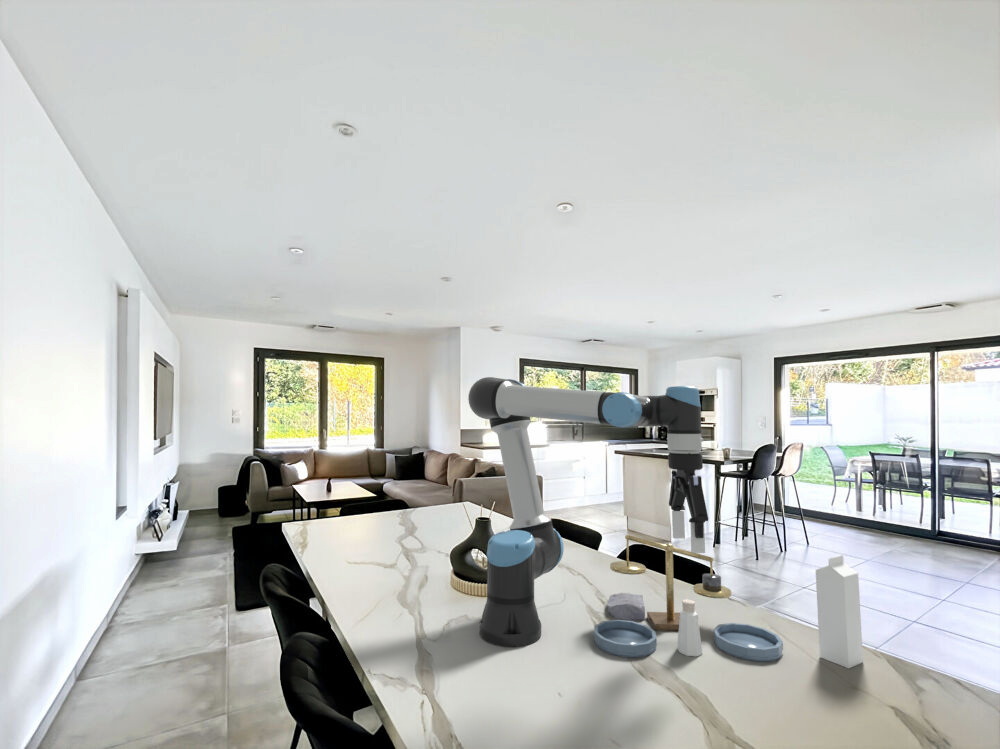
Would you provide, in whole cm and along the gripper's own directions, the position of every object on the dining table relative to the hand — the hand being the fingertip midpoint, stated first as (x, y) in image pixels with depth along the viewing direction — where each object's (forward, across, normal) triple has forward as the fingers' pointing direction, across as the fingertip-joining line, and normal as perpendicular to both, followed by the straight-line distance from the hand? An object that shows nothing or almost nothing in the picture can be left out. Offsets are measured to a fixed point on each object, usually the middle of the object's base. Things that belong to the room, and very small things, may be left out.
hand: (688, 545), depth 116 cm
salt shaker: (+24, 0, 0) cm, 24 cm away
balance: (+23, +15, 0) cm, 28 cm away
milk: (+24, -2, -32) cm, 40 cm away
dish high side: (+23, +3, +14) cm, 28 cm away
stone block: (+24, +24, +10) cm, 35 cm away
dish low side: (+24, +3, -14) cm, 27 cm away
